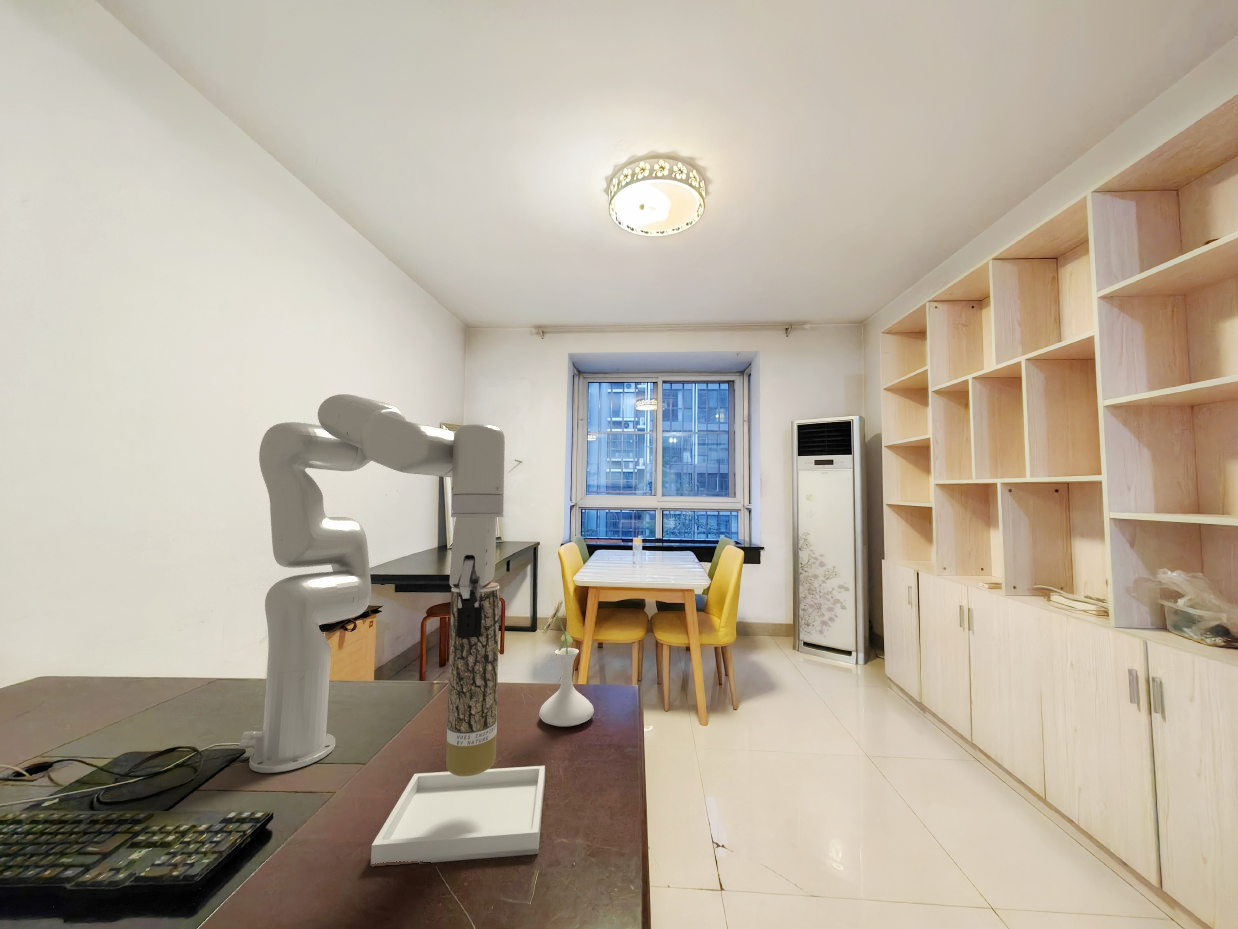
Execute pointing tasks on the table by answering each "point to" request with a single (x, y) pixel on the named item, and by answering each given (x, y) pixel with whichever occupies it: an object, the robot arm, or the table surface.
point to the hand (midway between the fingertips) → (474, 629)
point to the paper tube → (473, 689)
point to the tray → (464, 817)
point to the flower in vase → (565, 686)
